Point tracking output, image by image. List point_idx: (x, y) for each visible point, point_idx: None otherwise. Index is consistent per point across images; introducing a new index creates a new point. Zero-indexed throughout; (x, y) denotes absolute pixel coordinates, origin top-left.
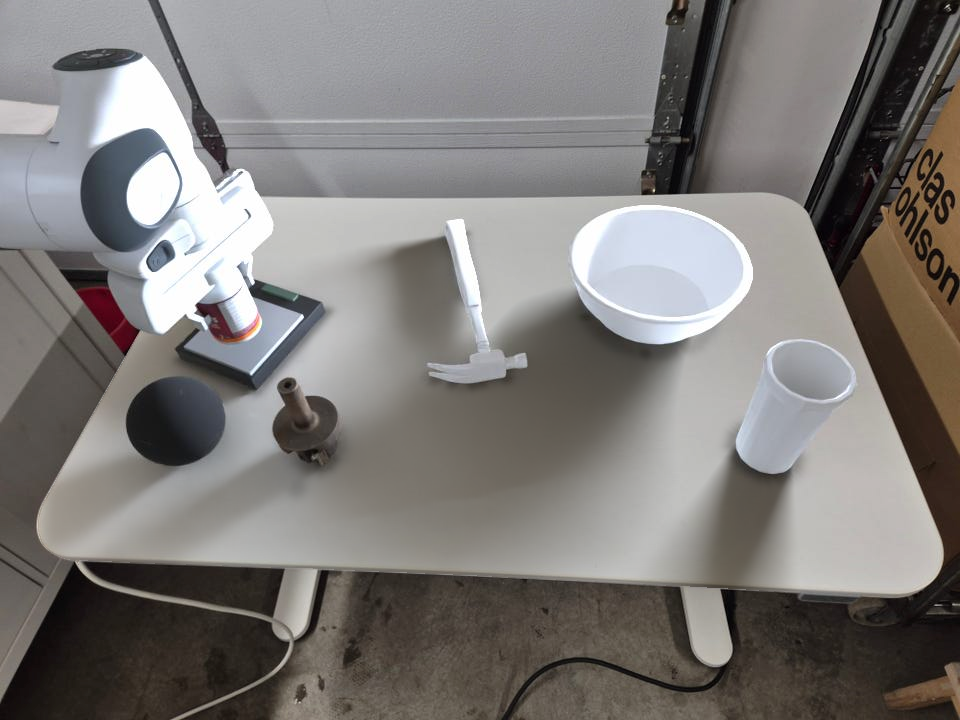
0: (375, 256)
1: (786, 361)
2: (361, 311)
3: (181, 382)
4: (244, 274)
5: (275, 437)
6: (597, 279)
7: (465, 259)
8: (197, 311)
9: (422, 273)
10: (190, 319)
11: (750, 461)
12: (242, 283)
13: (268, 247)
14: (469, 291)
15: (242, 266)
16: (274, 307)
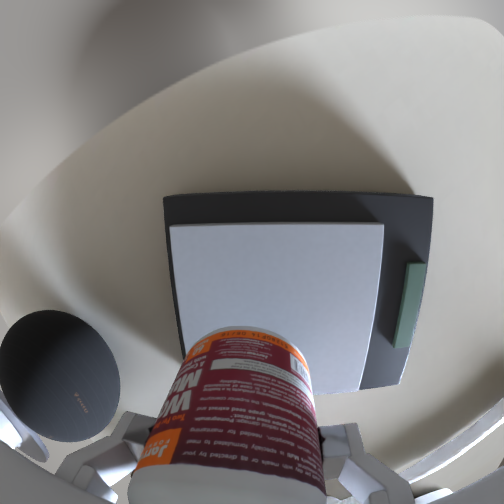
0: (497, 345)
1: None
2: (398, 404)
3: (55, 429)
4: (343, 475)
5: (132, 474)
6: (435, 492)
7: (466, 449)
8: (139, 447)
9: (464, 409)
10: (113, 433)
11: None
12: None
13: (497, 154)
14: (419, 477)
15: (360, 488)
16: (363, 337)
